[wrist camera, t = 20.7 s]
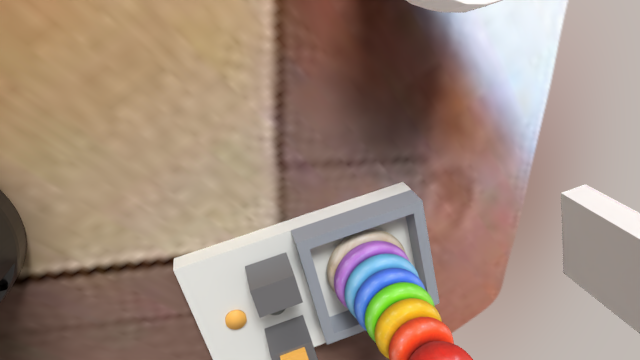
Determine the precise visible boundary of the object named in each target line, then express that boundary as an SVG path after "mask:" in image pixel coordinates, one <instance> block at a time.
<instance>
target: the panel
mask: <svg viewBox="0 0 640 360" xmlns="http://www.w3.org/2000/svg"><path fill="white" fill-rule="evenodd" d="M409 190H411V189H410V188H409V187H408V186H407V185H406V184H405V183H404V182H401V183H398V184H395V185H392V186H389V187H386V188H383V189H380V190H377V191H374V192H371V193H368V194H365V195H362V196H359V197H356V198H353V199H350V200H347V201H344V202H341V203H338V204H335V205H332V206H329V207H326V208H323V209H320V210H317V211H314V212H311V213H308V214H305V215H302V216H299V217H296V218H293V219H290V220H287V221H284V222H281V223H278V224H275V225H272V226H269V227H266V228H263V229H260V230H257V231H254V232H251V233H248V234H245V235H242V236H239V237H237V238H234V239H231V240H228V241H225V242H222V243H219V244H216V245H213V246H210V247H207V248H204V249H201V250H198V251H195V252H192V253H189V254H186V255H183V256H180V257H177V258H174V266H173V270H174V273H175V275H176V277H177V279H178V282H179V284H180V286H181V288H182V291H183V293H184V295H185V297H186V300H187V302H188V304H189V307H190V309H191V311H192V313H193V316H194V318H195V320H196V322H197V325H198V327H199V329H200V331H201V334H202V336H203V338H204V340H205V343H206V345H207V347H208V349H209V352H210V354H211V356H212V358H213V360H272V359H271V357H270V352H269V348H268V343H267V339H266V334H265V328H268V327H270V326H273V325H276V324H279V323H281V322H284V321H287V320H290V319H293V318H295V317H298V316H301V315H303V317H304V320H305V322H306V325H307V328H308V331H309V334H310V337H311V340H312V343H313V346H314V347H316V346H318V345H321V344H324V343H326V341H325V338H324V336H323V333H322V330H321V328H320V324H319V321H318V318H317V314H316V311H315V308H314V305H313V301H312V298H311V295H310V292H309V288H308V285H307V282H306V279H305V275H304V272H303V269H302V266H301V262H300V259H299V256H298V252H297V249H296V246H295V243H294V239H293V236H292V233H291V230H293V229H296V228H299V227H302V226H305V225H308V224H311V223H314V222H317V221H320V220H323V219H326V218H329V217H332V216H335V215H338V214H341V213H344V212H346V211H349V210H352V209H355V208H358V207H361V206H364V205H367V204H370V203H373V202H376V201H379V200H382V199H385V198H388V197H391V196H394V195H397V194H400V193H403V192H406V191H409ZM370 229H376V230H382V231H385V232H388V233H389V234H391V235H393V236H394V237H395V238H397V239H398V240H399V242H400V243H401V244H402V246H403V248H404V250H405V253H406V255H407V257H408V258H409V261H410V263H411V264H412V265H413V266H414V267H415V263H414V258H413V253H412V247H411V242H410V237H409V231H408V226H407V221H406V216H405V217H402V218H399V219H396V220H393V221H390V222H387V223H384V224H381V225H378V226H375V227H373V228H370ZM367 230H368V229H367ZM346 237H348V236H346ZM346 237H343V238H341V239H338V240H335V241H332V242H329V243H326V244H323V245H320V246H317V247H314V248H312V249H310V252H311V256H312V259H313V262H314V266H315V269H316V273H317V276H318V279H319V283H320V286H321V290H322V293H323V296H324V300H325V303H326V307H327V310H328V314H329V317H331V316H334V315H337V314H339V313H342V312H345V311H348V310H349V309H348V308H346V307H345V306H344V305H343V304H342V303H341V302H340V300H339V299H338V297H337V295H336V294H335V292H334V291H333V290H332V288H331V287H330V285H329V282H328V279H327V265H328V261H329V258H330V256H331V254H332V252H333V250H334V249H335V248H336V246H337V245H338V244H339V243H340V242H341V241H342V240H343V239H345V238H346ZM285 252H286V253H287V256H288V259H289V261H290V264H291V267H292V270H293V273H294V275H295V279H296V282H297V285H298V288H299V291H300V294H301V298H302V301H303V303H300V304H297V305H295V306H292V307H289V308H286V309H283V310H281V311H278V312H275V313H272V314H269V315H267V316H264V317H261V318H260V317H259V315H258V312H257V309H256V307H255V304H254V301H253V298H252V296H251V293H250V290H249V285H248V280H247V275H246V270H245V266H247V265H250V264H253V263H256V262H259V261H262V260H265V259H268V258H271V257H274V256H277V255H279V254H282V253H285Z"/></svg>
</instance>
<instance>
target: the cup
mask: <svg viewBox="0 0 640 360" xmlns="http://www.w3.org/2000/svg"><path fill="white" fill-rule="evenodd" d="M406 1H408V2H409V3H410V4H412V5H416V6H419V7H422V8H425V9H428V10H432V11H439V12H467V11H471V10H474V9H477V8H481V7H484V6H487V5H490V4H493V3H496V2H499V1H502V0H406Z"/></svg>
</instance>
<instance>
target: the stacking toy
mask: <svg viewBox="0 0 640 360" xmlns="http://www.w3.org/2000/svg"><path fill="white" fill-rule="evenodd" d="M327 279H328V282H329V285H330V287H331V288H332V290H333V291H334V292H335V294H336V295H337V297H338V299H339V300H340V302H341V303H342V304H343V305H344V306H345V307H346V308H348V309H349V311H350V312H351V314H352V315H353V316H354V317H355V318H356V319H357V321H358V322H359V324H360V325H361V327H362V328H363V329H365V330H366V331H367V332H368V334H369V336H370V337H371V338H372V339H373V340H374V341H375V342H376V345H377V347H378V349H379V350H380V352H381V353H382V354H383V355H384V356H385V357H387V358H388V359H390V360H473V359H472V358H471V357H470V355H468V353H467V352H466V351H464V350H463V349H462V348H460V347H459V346H457V345H454V342H453V337H452V334H451V332H450V330H449V328H448V327H447V326H446V325H445V324H444V323H443V322H442V321H441V317H440V315H439V313H438V311H437V310H436V308H435V306H434V302H433V300H432V298H431V296H430V295H429V293H428V292H427V291H426V290H425V287H424V285H423V283H422V281H421V280H420V279H419V275H418V273H417V270H416V269H415V267H414V266H413V265H412V264H411V263H410V261H409V258H408V257H407V255H406V253H405V250H404V248H403V246H402V244H401V243H400V242H399V240H398V239H397V238H395V237H394V236H393V235H391V234H389V233H388V232H385V231H382V230H376V229H368V230H364V231H361V232H358V233H355V234H352V235H349V236H348V237H346V238H345V239H343V240H342V241H341V242H340V243H339V244H338V245H337V246H336V248H335V249H334V250H333V252H332V254H331V256H330V258H329V261H328V265H327Z"/></svg>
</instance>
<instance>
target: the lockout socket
mask: <svg viewBox="0 0 640 360" xmlns="http://www.w3.org/2000/svg"><path fill="white" fill-rule="evenodd" d="M405 216H406V221H407V226H408V231H409V237H410V242H411V247H412V253H413V258H414V263H415V269H416V270H417V273H418V275H419V279H420V280H421V281H422V283H423V285H424V287H425V290H426V291H427V292H428V293H429V295H430V296H431V298H432V300H433V302H434V305H436V304H438V303H439V297H438V291H437V285H436V279H435V274H434V268H433V262H432V256H431V250H430V244H429V238H428V232H427V226H426V220H425V214H424V208H423V202H422V200H421V199H420V198H419V197H418V196H417V195H416V194H415V193H414V192H413V191H412V190H409V191H406V192H403V193H400V194H397V195H394V196H391V197H388V198H385V199H382V200H379V201H376V202H373V203H370V204H367V205H364V206H361V207H358V208H355V209H352V210H349V211H346V212H344V213H341V214H338V215H335V216H332V217H329V218H326V219H323V220H320V221H317V222H314V223H311V224H308V225H305V226H302V227H299V228H296V229H293V230H291V233H292V236H293V239H294V243H295V246H296V249H297V252H298V256H299V259H300V262H301V266H302V269H303V272H304V275H305V279H306V282H307V285H308V288H309V292H310V295H311V298H312V301H313V305H314V308H315V311H316V314H317V318H318V321H319V324H320V328H321V330H322V333H323V336H324V338H325V341H326V344H327V345H328V344H331V343H333V342H336V341H339V340H341V339H344V338H347V337H349V336H352V335H355V334H358V333H360V332H363V331H366V330H365V329H363V328H362V327H361V325H360V324H359V322H358V321H357V319H356V318H355V317H354V316H353V315H352V314H351V312H350V311H349V310H348V311H345V312H342V313H339V314H337V315H334V316H331V317H329V314H328V310H327V307H326V303H325V300H324V296H323V293H322V290H321V286H320V283H319V279H318V276H317V273H316V269H315V266H314V262H313V259H312V256H311V252H310V249H312V248H314V247H317V246H320V245H323V244H326V243H329V242H332V241H335V240H338V239H341V238H343V237H346V236H349V235H352V234H355V233H358V232H361V231H364V230H367V229H370V228H373V227H375V226H378V225H381V224H384V223H387V222H390V221H393V220H396V219H399V218H402V217H405Z"/></svg>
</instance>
